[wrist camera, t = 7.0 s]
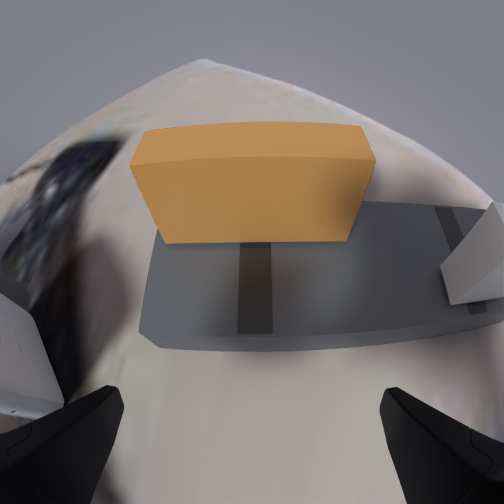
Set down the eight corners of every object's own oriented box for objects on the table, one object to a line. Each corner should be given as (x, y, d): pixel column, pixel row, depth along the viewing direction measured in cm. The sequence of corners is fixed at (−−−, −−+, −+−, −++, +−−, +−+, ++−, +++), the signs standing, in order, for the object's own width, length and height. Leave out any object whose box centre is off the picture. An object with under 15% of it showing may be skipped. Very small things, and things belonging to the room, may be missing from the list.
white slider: (502, 297, 15) (559, 248, 9) (450, 305, 15) (514, 248, 10) (491, 263, 17) (541, 209, 11) (439, 265, 17) (492, 201, 11)
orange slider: (346, 241, 18) (376, 160, 12) (165, 243, 19) (129, 165, 13) (338, 206, 20) (360, 126, 14) (172, 209, 20) (145, 131, 14)
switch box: (501, 322, 18) (527, 304, 15) (159, 347, 19) (138, 332, 16) (472, 233, 24) (491, 210, 20) (176, 233, 25) (163, 203, 21)
